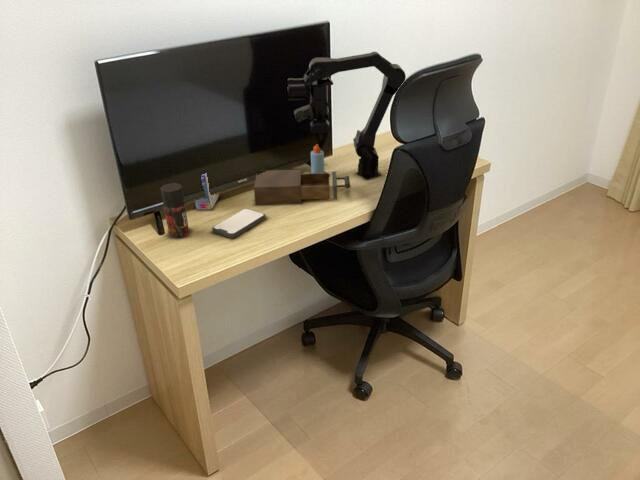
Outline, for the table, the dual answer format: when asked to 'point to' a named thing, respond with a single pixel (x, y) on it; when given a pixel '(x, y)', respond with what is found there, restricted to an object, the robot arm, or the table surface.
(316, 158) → the glue bottle
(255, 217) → the phone case
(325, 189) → the drawer
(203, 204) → the ink cartridge box
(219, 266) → the table surface
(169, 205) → the deodorant
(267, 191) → the cabinet
